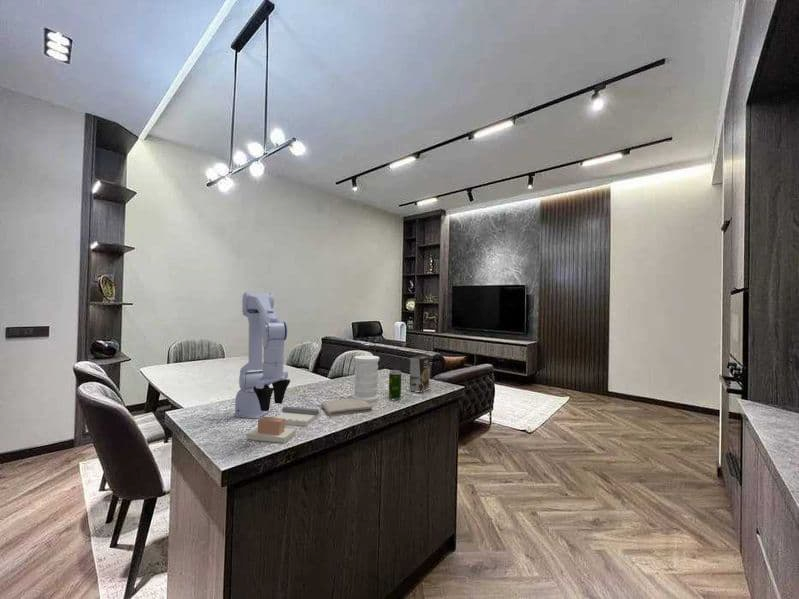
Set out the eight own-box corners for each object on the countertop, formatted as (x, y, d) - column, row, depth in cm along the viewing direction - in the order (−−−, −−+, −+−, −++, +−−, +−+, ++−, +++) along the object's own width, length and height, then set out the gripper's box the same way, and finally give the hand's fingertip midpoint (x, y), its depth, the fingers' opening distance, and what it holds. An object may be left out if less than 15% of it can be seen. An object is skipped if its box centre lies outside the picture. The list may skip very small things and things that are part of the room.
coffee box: (420, 393, 159) (421, 358, 159) (408, 391, 162) (409, 357, 163) (429, 389, 167) (430, 356, 167) (418, 387, 170) (419, 355, 170)
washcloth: (374, 412, 131) (374, 404, 131) (328, 418, 123) (328, 409, 123) (363, 404, 142) (363, 396, 142) (320, 408, 134) (320, 400, 134)
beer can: (397, 396, 153) (398, 369, 153) (402, 399, 148) (403, 371, 148) (386, 397, 151) (387, 370, 151) (391, 400, 146) (391, 372, 146)
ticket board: (271, 422, 115) (271, 414, 115) (289, 412, 127) (289, 403, 127) (307, 426, 113) (307, 417, 113) (321, 415, 125) (322, 406, 125)
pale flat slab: (246, 439, 101) (247, 420, 101) (260, 430, 108) (261, 413, 108) (284, 443, 99) (284, 424, 99) (295, 434, 106) (296, 416, 106)
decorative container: (346, 398, 147) (347, 356, 147) (366, 393, 156) (367, 354, 156) (365, 404, 139) (366, 360, 140) (384, 398, 148) (385, 357, 148)
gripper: (272, 366, 95) (270, 415, 95) (297, 358, 110) (295, 401, 109) (249, 365, 97) (248, 413, 96) (276, 357, 111) (275, 399, 111)
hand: (271, 406), depth 103 cm, fingers open, 7 cm apart
